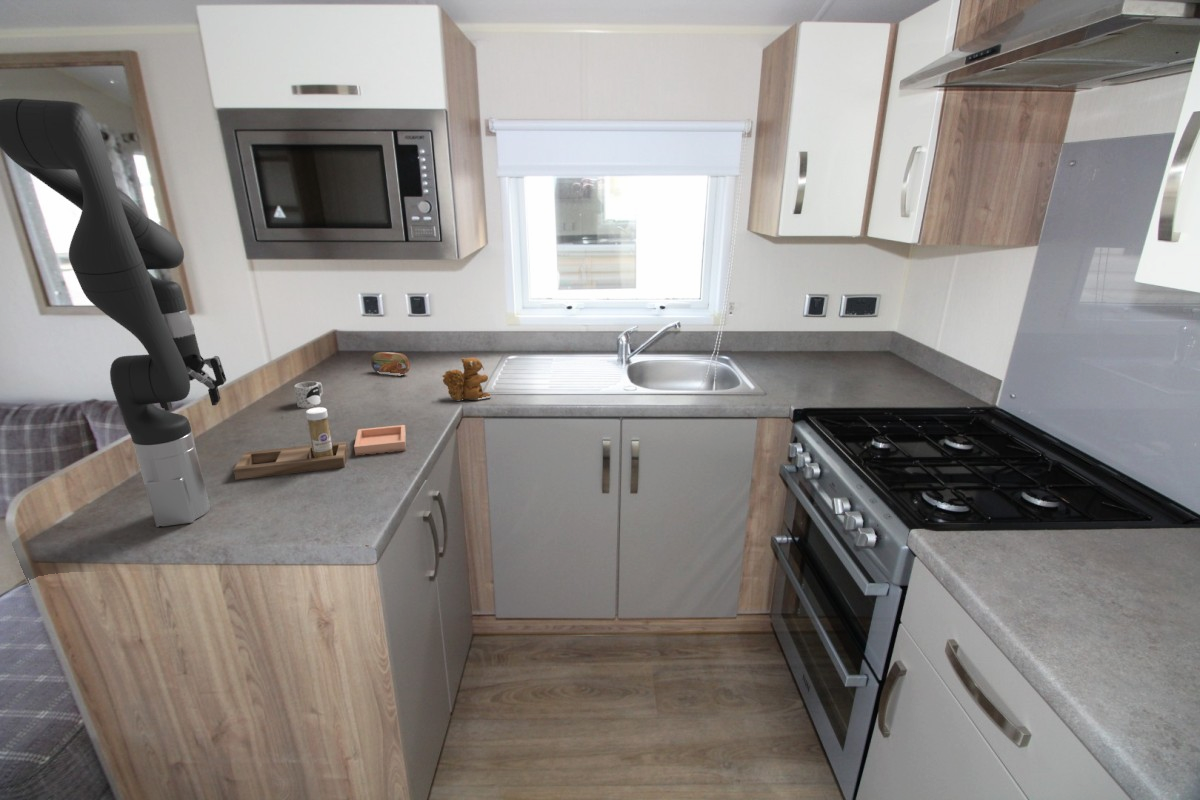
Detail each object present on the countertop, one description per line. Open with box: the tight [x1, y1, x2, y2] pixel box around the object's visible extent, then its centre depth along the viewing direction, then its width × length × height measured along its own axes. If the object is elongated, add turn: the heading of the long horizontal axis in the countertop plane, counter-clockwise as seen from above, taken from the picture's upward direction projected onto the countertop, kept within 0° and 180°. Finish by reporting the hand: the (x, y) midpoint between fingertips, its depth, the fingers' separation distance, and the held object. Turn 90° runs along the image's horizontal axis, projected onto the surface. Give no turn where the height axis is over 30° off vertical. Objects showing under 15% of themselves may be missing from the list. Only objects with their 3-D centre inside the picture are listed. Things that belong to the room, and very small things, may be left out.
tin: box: [370, 351, 411, 375], centre depth 208 cm, size 15×3×8 cm, turn 73°
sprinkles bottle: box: [305, 406, 334, 458], centre depth 137 cm, size 5×5×13 cm
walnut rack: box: [233, 441, 349, 480], centre depth 137 cm, size 10×23×2 cm, turn 108°
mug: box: [293, 380, 324, 409], centre depth 178 cm, size 10×7×7 cm, turn 168°
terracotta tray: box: [353, 424, 407, 457], centre depth 149 cm, size 12×12×2 cm
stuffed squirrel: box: [441, 356, 491, 401], centre depth 183 cm, size 10×14×13 cm
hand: (192, 406), depth 122 cm, fingers open, 8 cm apart
